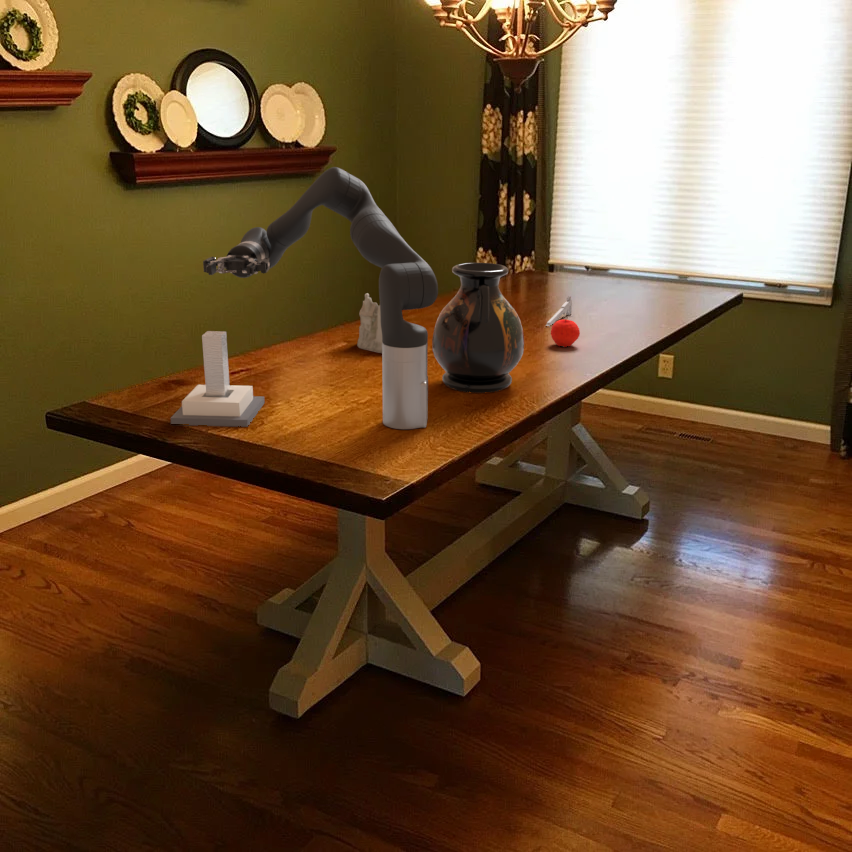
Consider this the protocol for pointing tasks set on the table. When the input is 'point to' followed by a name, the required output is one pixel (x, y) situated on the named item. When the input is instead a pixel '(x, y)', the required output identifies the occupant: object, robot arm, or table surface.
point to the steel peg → (216, 364)
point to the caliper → (562, 311)
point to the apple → (565, 332)
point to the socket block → (219, 408)
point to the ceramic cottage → (370, 326)
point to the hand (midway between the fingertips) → (229, 270)
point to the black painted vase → (478, 332)
